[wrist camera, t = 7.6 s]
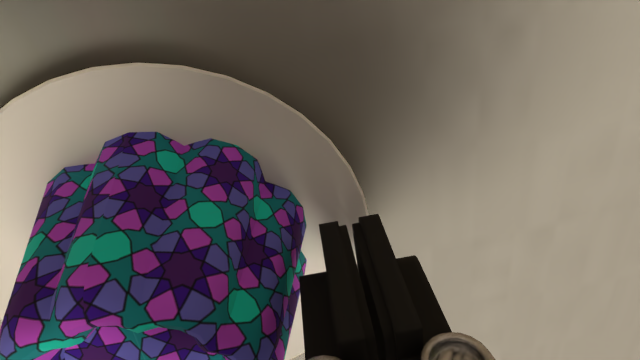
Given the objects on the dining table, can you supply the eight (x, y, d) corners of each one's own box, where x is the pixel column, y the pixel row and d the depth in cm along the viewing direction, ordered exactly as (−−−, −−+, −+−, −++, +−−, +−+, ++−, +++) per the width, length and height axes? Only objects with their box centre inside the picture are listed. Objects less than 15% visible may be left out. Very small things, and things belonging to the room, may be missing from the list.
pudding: (339, 12, 11) (393, 67, 6) (382, 333, 17) (426, 481, 12) (-138, 106, 10) (-451, 235, 6) (80, 395, 16) (9, 568, 12)
